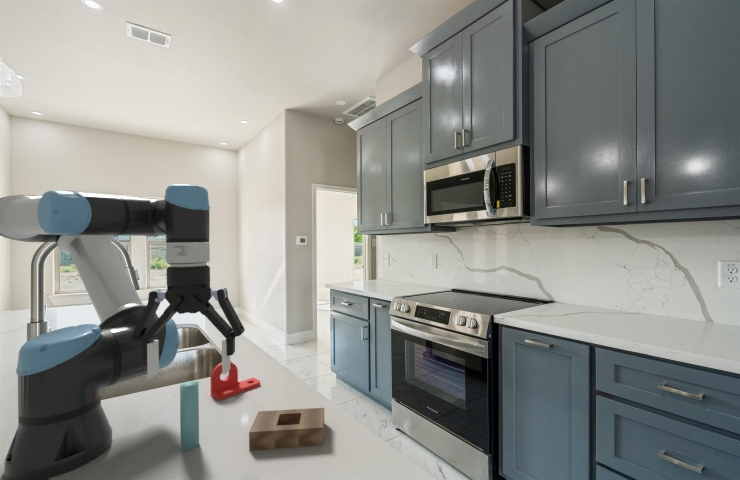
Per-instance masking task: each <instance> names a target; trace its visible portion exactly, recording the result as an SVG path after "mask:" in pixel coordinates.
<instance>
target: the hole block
mask: <svg viewBox="0 0 740 480" xmlns="http://www.w3.org/2000/svg"><path fill="white" fill-rule="evenodd" d="M324 435H325V407H314V408H313V407H312V408H311V407H310V408H296V409H277V410H262V411H260V410H259V411H258V412H257V413H256V415H255V418H254V421H253V423H252V424H251V427H250V428H249V432H248V444H249V445H248V447H249V449H248V450H249V451H259V450H260V451H262V450H274V449H275V450H276V449H286V448H287V449H291V448H303V447H316V446H317V447H320V446H324V440H325V439H324Z"/></svg>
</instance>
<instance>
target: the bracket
mask: <svg viewBox="0 0 740 480" xmlns="http://www.w3.org/2000/svg"><path fill="white" fill-rule="evenodd" d="M238 374H239V371H238V367H237V366H236V364H235V363H233V362H231V361H230V370H229V371H228V374H227V376H226V378H225V379H221V375H222V361H221V362H219V363H218V364H217V365H215V366H214V368H213V369H212V371H211V373H210V396H211V397H212V398H214V399H216V400H217V401H222V400H224V399H228V398H230V397H233V396H235V395H238V394H241V393H244V392H246V391H249V390H250V391H251V390H252V389H255V388H258V387H260V386H261V380H259V379H257V378H255V377H250V378H248V379H245V380H241V381H239V379H238V378H239V377H238V376H239V375H238Z"/></svg>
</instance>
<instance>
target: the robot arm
mask: <svg viewBox="0 0 740 480" xmlns="http://www.w3.org/2000/svg"><path fill="white" fill-rule="evenodd" d="M210 209H211V207H210V201H209V191H208V190H207V188H205V187H203V186H202V185H201V186H200V185H196V184H195V185H194V184H177V183H176V184H170V185H168V186H167V187H166V188H165V194H164V198H160V199H159V198H157V199H156V198H155V199H154V198H144V197H143V198H142V197H132V196H131V197H130V196H121V195H120V196H119V195H107V194H98V193H90V192H89V193H88V192H87V193H86V192H80V191H79V192H78V191H75V190H48V191H45V192H44V193H43V194H42V195H38V194H18V195H17V194H16V195H14V194H13V195H8V196H4V197H3V196H2V197H0V237H3V238H5V239H10V240H13V241H17V242H26V243H56V244H57V247H58V249H59V250H60V251H61V252H62V253H64V254H66V255H69V256H70V257H71V259H72V261H73V264H74V265H75V268H76V270H77V272H78V274H79V276H80V279H81V281H82V283H83V286H84V288H85V290H86V292H87V294H88V296H89V299H90V300H91V303H92V305H93V307H94V310H95V312H96V315H97V317H98V318H99V320H100V323H98V324H94V323H87V324H86V323H85V324H79V325H75V326H74V325H73V326H67V327H62V328H57V329H55V330H52V331H48V332H45V333H42V334H39V335H36V336H35V337H33V338H31V339H29V340H28V341H26V342H24V344H23V345H22V346H21V347H20V349H19V351H18V358H17V366H16V371H15V373H16V375H17V410H18V411H17V412H18V413H17V414H18V418H17V419H18V420H17V422H18V424H17V429H16V431H15V433H14V436H13V438H12V440H11V443H10V446H9V448H8V452H7V454H6V456H5V459H4V463H3V464H4V466H3V467H4V468H3V469H4V471H3V472H4V477H5V479H6V480H48V479H51V478H54V477H57V476H58V477H59V476H61V475H64V474H67V473H69V472H72V471H74V470H77V469H79V468H81V467H83V466H85V465H88V464H89V463H91V462H92V461H94V460H96V459H98V458H99V457H101V455H103V454H104V453H105V452H106V451H107V450H108V449H109V448H110V447H111V445H112V443H113V429H112V426H111V425H110V422H109V419H108V417H107V415H106V412H105V411H104V409H103V406H102V389H104V388H107V387H111V386H113V385H117V384H120V383H123V382H125V381H130V380H132V379H135V378H139V377H142V376H145V375H147V379H152V378H154V377H155V376H157V375H158V374H160V370H162V369H164V368H167V367H168V366H170V365H171V364H172V363H173V361H174V359H175V358H176V356H177V353H178V351H179V350H178V349H179V342H180V341H179V340H180V339H179V337H180V336H179V330H178V326H177V324H176V322H175V320H174V319H173V316H174V315H175V314H176V313H178V315H179V314H180V315H182V314H186V313H189V314H197V313H199V312H200V314H201V315H203V316H204V317H206V319H207V320H208V321H209V322H210V323H211V324H212V325H213V326H214V327H215V328H216V330H217V331H218V332H220V333H221V335H222V336H223V337H224V338H223V339H222V340H221V362H222V373H221V375H228V374H229V370H230V362H231V356H233V355H234V354H235V352H236V338H237V337H240V336H241V335H242V334H244V332H245V331H246V329H245V327H244V325H243V322H242V321H241V320H240V318H239V316H238V314H237V312H236V310H235V309H234V306H233V305H232V303H231V301H230V299H229V294H228V293H229V292H228V289H227V288H226V287H222V288H220V289H214V290H212V289H211V267H210V266H209V265H207V264H208V263H209V262H210V261H211V257H210V255H211V254H210V253H211V252H210ZM115 236H145V237H160V236H166V238H165V240H166V241H165V243H166V249H165V250H166V264H168V265H169V266H167V268H166V287H167V288H166V291H163V290H160V289H156V290H152V291H150V292H149V293H148V298H147V299H148V300H147V304H144V303H143V302H142V300H141V297H140V296H139V294H138V292H137V290H136V288H135V286H134V285H133V283H132V281H131V279H130V277H129V275H128V273H127V271H126V270H125V268H124V265H123V263H122V261H121V260H120V258H119V256H118V254H117V252H116V250H115V248H114V246H113V244H112V242H113V239H114V237H115ZM212 297H214V299H215V301H217V302H218V304H219V307H220V308H221V310H222V312H223V314H224V316H225V318H226V319H227V321H228V322H227V321H226V320H225V319H224V318H223V317H222V316H221V315H220V314H219V313H218V311H216V309H215V307H214V306H213V305H212V304H211V303H210V302H209V301H210V300H211V299H212ZM164 300H166V301H167V303H168V304H169V305H168V306H167V307H166V308H165V309H164V310H163V313H162V314H161V315H160V316H158V314H157V313H156V312H157V311H158V309H159V307H160V305H161V303H162V302H164Z"/></svg>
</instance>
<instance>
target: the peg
mask: <svg viewBox="0 0 740 480" xmlns="http://www.w3.org/2000/svg"><path fill="white" fill-rule="evenodd" d="M199 388H200V387H199V381H197V380H190V381H186V382H183V383H181V384H180V385H179V394H180V395H179V403H180V404H179V407H180V408H179V409H180V410H179V413H180V417H179V419H180V420H179V421H180V427H179V428H180V431H179V432H180V450H181V451H186V452H187V451H190V450H193V449H196V448H197V447H199V445H200V422H199V421H200V416H199V415H200V413H199V411H200V409H199V407H200V405H199V404H200V403H199V401H200V400H199V398H200V394H199V390H200V389H199Z"/></svg>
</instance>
